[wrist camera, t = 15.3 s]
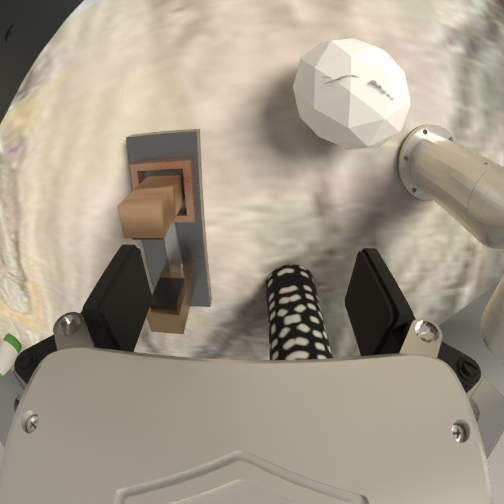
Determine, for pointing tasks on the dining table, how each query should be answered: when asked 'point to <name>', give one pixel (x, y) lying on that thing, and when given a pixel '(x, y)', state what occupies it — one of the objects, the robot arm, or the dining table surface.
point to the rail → (174, 228)
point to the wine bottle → (8, 353)
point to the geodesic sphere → (351, 93)
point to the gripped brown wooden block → (151, 207)
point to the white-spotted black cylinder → (295, 316)
